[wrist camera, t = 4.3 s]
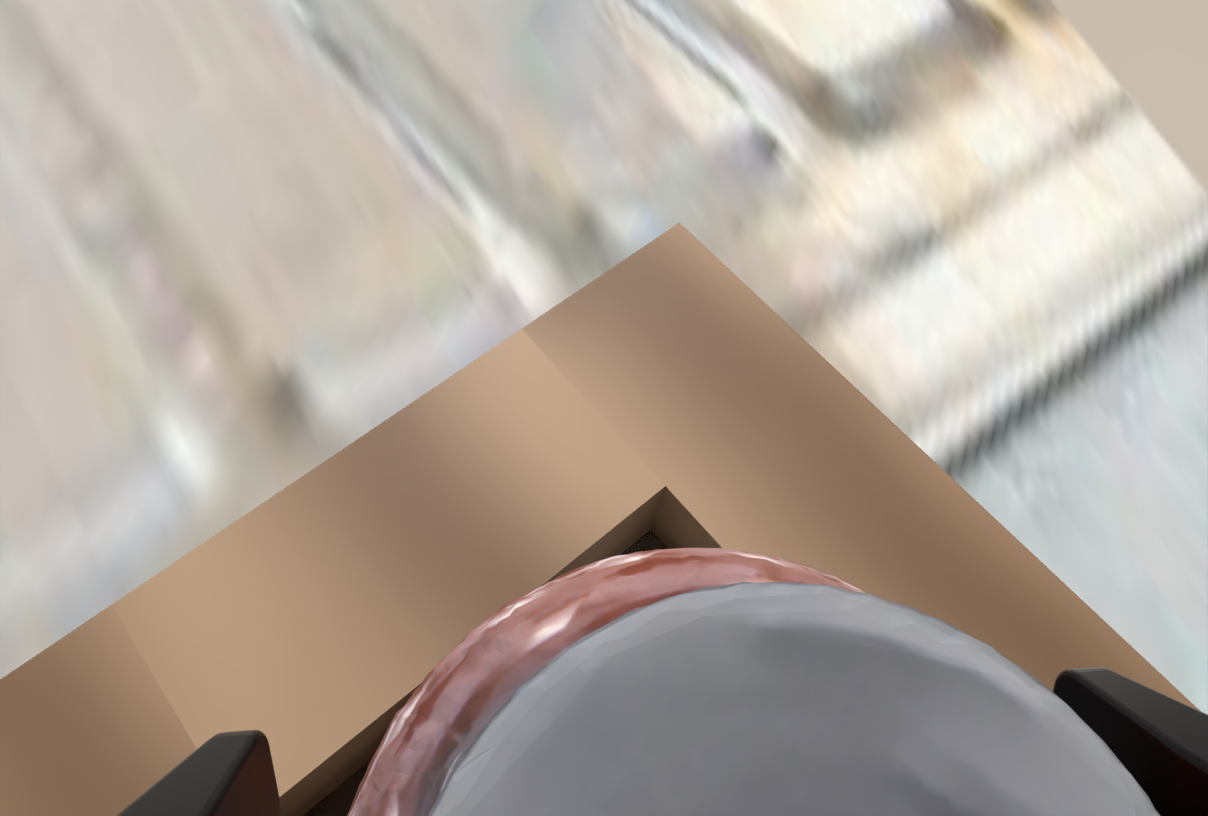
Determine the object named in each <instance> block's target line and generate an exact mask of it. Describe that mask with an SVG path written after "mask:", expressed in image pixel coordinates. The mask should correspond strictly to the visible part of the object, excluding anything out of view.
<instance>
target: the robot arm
mask: <svg viewBox="0 0 1208 816" xmlns="http://www.w3.org/2000/svg"><path fill="white" fill-rule="evenodd" d="M1053 693H1055V694H1056V695H1057V696H1058V697H1059V698H1060V699H1062V700H1063V701H1064V702H1065V703H1066V704H1067V705H1069V706H1070V708H1071V709H1072V710H1073V711H1074V712H1075V713H1076V714H1077V715H1078V716H1079V717H1080V718H1081V719H1082V720H1083V721H1084V722H1085V723H1086V724H1087V725H1088V726H1089V727H1090V728H1091V729H1092V730H1093V731H1094V732H1095V733H1096V734H1097V735H1098V736H1099V737H1100V738H1101V739H1102V740H1103V741H1104V742H1105V743H1106V744H1107V746H1108V747H1109V748H1110V749H1111V751H1112V752H1113V753H1114V754H1115V756H1116V757H1117V758H1118V759H1119V761H1120V762H1121V763H1122V764H1123V765H1124V767H1125V768H1126V769H1127V770H1128V771H1129V772H1130V774H1131V775H1132V776H1133V777H1134V779H1135V780H1136V781H1137V782H1138V784H1139V785H1140V786H1141V788H1142V789H1143V790H1144V791H1145V793H1146V794H1147V795H1148V797H1149V798H1150V800H1151V802H1152V804H1153V806H1154V808H1155V810H1156V811H1157V812H1158V813H1159V814H1160V815H1161V816H1208V715H1207V714H1205V713H1203V712H1201V711H1198V710H1196V709H1194V708H1192V707H1190V706H1187V705H1185V704H1183V703H1181V702H1179V701H1177V700H1174V699H1172V698H1170V697H1168V696H1166V695H1164V694H1161V693H1159V692H1157V691H1155V690H1153V689H1151V688H1148V687H1146V686H1144V685H1142V684H1140V683H1138V682H1135V681H1133V680H1131V679H1129V678H1127V677H1124V676H1122V675H1120V674H1118V673H1116V672H1114V671H1111V670H1109V669H1106V668H1102V667H1089V668H1076V669H1067V670H1064V671H1062V672H1061V673H1060V674H1059V675H1058V676H1057V678H1056V680H1055V683H1054V688H1053ZM116 816H280V799H279V793H278V788H277V783H276V777H275V772H274V767H273V762H272V757H271V751H270V746H269V742H268V739H267V737H266V735H265V734H264V733H263V732H261V731H259V730H245V731H231V732H222V733H218V734H216V735H214V736H213V737H211V738H210V739H209V740H207V741H206V742H205V743H204V744H203V745H201V746H200V747H199V748H198V749H197V750H195V751H194V752H193V753H192V754H190V755H189V756H188V757H187V758H186V759H184V760H183V761H182V762H181V763H180V764H178V765H177V766H176V767H175V768H173V769H172V770H171V771H170V772H169V773H167V774H166V775H165V776H164V777H163V778H161V779H160V780H159V781H158V782H156V783H155V784H154V785H153V786H152V787H150V788H149V789H148V790H147V791H146V792H144V793H143V794H142V795H141V796H139V797H138V798H137V799H136V800H135V801H133V802H132V803H131V804H130V805H129V806H127V807H126V808H125V809H124V810H123V811H121V812H120V813H119V814H118V815H116Z"/></svg>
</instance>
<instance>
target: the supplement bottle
mask: <svg viewBox="0 0 1208 816" xmlns="http://www.w3.org/2000/svg"><path fill="white" fill-rule="evenodd" d="M347 816H1161V815H1160V814H1159V813H1158V812H1157V811H1156V810H1155V808H1154V806H1153V804H1152V802H1151V800H1150V798H1149V797H1148V795H1147V794H1146V793H1145V791H1144V790H1143V789H1142V788H1141V786H1140V785H1139V784H1138V782H1137V781H1136V780H1135V779H1134V777H1133V776H1132V775H1131V774H1130V772H1129V771H1128V770H1127V769H1126V768H1125V767H1124V765H1123V764H1122V763H1121V762H1120V761H1119V759H1118V758H1117V757H1116V756H1115V754H1114V753H1113V752H1112V751H1111V749H1110V748H1109V747H1108V746H1107V744H1106V743H1105V742H1104V741H1103V740H1102V739H1101V738H1100V737H1099V736H1098V735H1097V734H1096V733H1095V732H1094V731H1093V730H1092V729H1091V728H1090V727H1089V726H1088V725H1087V724H1086V723H1085V722H1084V721H1083V720H1082V719H1081V718H1080V717H1079V716H1078V715H1077V714H1076V713H1075V712H1074V711H1073V710H1072V709H1071V708H1070V706H1069V705H1067V704H1066V703H1065V702H1064V701H1063V700H1062V699H1060V698H1059V697H1058V696H1057V695H1056V694H1055V693H1053V692H1052V691H1051V690H1050V689H1049V688H1048V687H1046V686H1045V685H1044V684H1043V683H1042V682H1040V681H1039V680H1038V679H1036V678H1035V677H1033V676H1032V675H1031V674H1029V673H1028V672H1026V671H1025V670H1023V669H1022V668H1021V667H1019V666H1018V665H1016V664H1015V663H1013V662H1012V661H1010V660H1009V659H1007V658H1006V657H1005V656H1003V655H1002V654H1001V653H999V652H998V651H997V650H995V649H994V648H993V647H991V646H990V645H988V644H985V643H983V642H981V641H979V640H977V639H975V638H973V637H971V636H969V635H968V634H966V633H964V632H963V631H961V630H959V629H957V628H956V627H954V626H952V625H950V624H948V623H946V622H944V621H942V620H940V619H938V618H936V617H933V616H930V615H928V614H925V613H923V612H920V611H918V610H917V609H915V608H913V607H910V606H907V605H903V604H899V603H896V602H892V601H888V600H885V599H882V598H880V597H878V596H875V595H873V594H869V593H865V592H863V591H861V590H860V589H858V588H856V587H854V586H852V585H851V584H849V583H846V582H844V581H842V580H840V579H838V578H837V577H835V576H832V575H828V574H825V573H822V572H820V571H817V570H815V569H813V568H811V567H808V566H804V565H800V564H797V563H793V562H790V561H786V560H783V559H780V558H777V557H773V556H766V555H758V554H752V553H749V552H742V551H736V550H732V549H724V548H675V549H656V550H651V551H641V552H634V553H631V554H626V555H619V556H612V557H609V558H606V559H603V560H600V561H597V562H594V563H591V564H588V565H585V566H582V567H580V568H577V569H574V570H572V571H570V572H567V573H565V574H563V575H560V576H558V577H557V578H555V579H554V580H552V581H550V582H547V583H545V584H544V585H543V586H540V587H538V588H535V589H533V590H531V591H529V592H527V593H526V594H524V595H523V596H521V597H519V598H517V599H515V600H513V601H511V602H509V603H507V604H505V605H504V606H503V607H502V608H500V609H499V610H498V611H497V612H496V613H495V614H493V615H491V616H489V617H487V618H486V620H485V621H484V622H483V623H482V624H481V625H479V626H478V627H476V628H475V629H473V630H472V631H470V632H469V633H468V634H467V635H466V636H465V637H464V638H463V639H462V641H461V642H460V643H459V644H458V645H457V646H456V647H455V648H454V649H453V650H452V651H451V652H450V653H449V654H447V655H446V656H445V657H444V658H443V659H442V660H441V662H440V663H439V664H438V665H437V666H436V667H435V668H434V669H433V670H432V671H430V672H429V673H428V674H427V675H426V677H425V678H424V680H423V682H422V683H421V685H420V686H419V687H418V688H417V689H416V690H414V692H413V694H412V696H411V698H409V700H408V701H407V703H406V704H405V705H404V707H402V708H401V709H400V710H399V711H397V712H396V714H395V716H394V718H393V720H392V722H391V724H390V726H389V728H388V730H387V731H386V733H385V735H384V737H383V739H382V741H381V743H380V745H379V747H378V749H377V751H376V753H375V754H374V756H373V758H372V760H371V762H370V763H369V766H368V768H367V771H366V773H365V775H364V777H363V779H362V781H361V783H360V785H359V787H358V790H357V793H356V795H355V798H354V800H353V803H352V806H351V808H350V810H349V813H348V815H347Z"/></svg>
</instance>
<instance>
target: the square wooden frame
mask: <svg viewBox="0 0 1208 816" xmlns="http://www.w3.org/2000/svg"><path fill="white" fill-rule="evenodd" d="M650 530H652V532H653V533H654V534H655V535H656V536H657V537H658V538H659V539H660V541H661V542H662V543H663V544H664V545H665V546H666V547H667V549H675V548H724V549H732V550H736V551H742V552H749V553H752V554H758V555H766V556H773V557H777V558H780V559H783V560H786V561H790V562H793V563H797V564H800V565H804V566H808V567H811V568H813V569H815V570H817V571H820V572H822V573H825V574H828V575H832V576H835V577H837V578H838V579H840V580H842V581H844V582H846V583H849V584H851V585H852V586H854V587H856V588H858V589H860V590H861V591H863V592H865V593H869V594H873V595H875V596H878V597H880V598H882V599H885V600H888V601H892V602H896V603H899V604H903V605H907V606H910V607H913V608H915V609H917V610H918V611H920V612H923V613H925V614H928V615H930V616H933V617H936V618H938V619H940V620H942V621H944V622H946V623H948V624H950V625H952V626H954V627H956V628H957V629H959V630H961V631H963V632H964V633H966V634H968V635H969V636H971V637H973V638H975V639H977V640H979V641H981V642H983V643H985V644H988V645H990V646H991V647H993V648H994V649H995V650H997V651H998V652H999V653H1001V654H1002V655H1003V656H1005V657H1006V658H1007V659H1009V660H1010V661H1012V662H1013V663H1015V664H1016V665H1018V666H1019V667H1021V668H1022V669H1023V670H1025V671H1026V672H1028V673H1029V674H1031V675H1032V676H1033V677H1035V678H1036V679H1038V680H1039V681H1040V682H1042V683H1043V684H1044V685H1045V686H1046V687H1048V688H1049V689H1050V690H1051V691H1052V692H1053V688H1054V683H1055V680H1056V678H1057V676H1058V675H1059V674H1060V673H1061V672H1062V671H1064V670H1067V669H1076V668H1089V667H1102V668H1106V669H1109V670H1111V671H1114V672H1116V673H1118V674H1120V675H1122V676H1124V677H1127V678H1129V679H1131V680H1133V681H1135V682H1138V683H1140V684H1142V685H1144V686H1146V687H1148V688H1151V689H1153V690H1155V691H1157V692H1159V693H1161V694H1164V695H1166V696H1168V697H1170V698H1172V699H1174V700H1177V701H1179V702H1181V703H1183V704H1185V705H1187V706H1190V707H1192V708H1194V709H1196V710H1198V711H1200V710H1199V709H1198V708H1196V707H1195V706H1194V705H1193V704H1192V703H1191V702H1190V701H1189V700H1188V699H1187V698H1186V697H1185V696H1184V695H1183V694H1182V693H1180V692H1179V691H1178V690H1177V689H1176V688H1175V687H1174V686H1173V685H1172V684H1171V683H1170V682H1169V681H1168V680H1167V679H1166V678H1164V677H1163V676H1162V675H1161V674H1160V673H1159V672H1158V671H1157V670H1156V669H1155V668H1154V667H1153V666H1152V665H1151V664H1150V663H1148V662H1147V661H1146V660H1145V659H1144V658H1143V657H1142V656H1141V655H1140V654H1139V653H1138V652H1137V651H1136V650H1135V649H1134V648H1132V647H1131V646H1130V645H1129V644H1128V643H1127V642H1126V641H1125V640H1124V639H1123V638H1122V637H1121V636H1120V635H1119V634H1118V633H1116V632H1115V631H1114V630H1113V629H1112V628H1111V627H1110V626H1109V625H1108V624H1107V623H1106V622H1105V621H1104V620H1103V619H1102V618H1100V617H1099V616H1098V615H1097V614H1096V613H1095V612H1094V611H1093V610H1092V609H1091V608H1090V607H1089V606H1088V605H1087V604H1086V603H1084V602H1083V601H1082V600H1081V599H1080V598H1079V597H1078V596H1077V595H1076V594H1075V593H1074V592H1073V591H1072V590H1071V589H1070V588H1068V587H1067V586H1066V585H1065V584H1064V583H1063V582H1062V581H1061V580H1060V579H1059V578H1058V577H1057V576H1056V575H1055V574H1054V573H1052V572H1051V571H1050V570H1049V569H1048V568H1047V567H1046V566H1045V565H1044V564H1043V563H1042V562H1041V561H1040V560H1039V559H1038V558H1036V557H1035V556H1034V555H1033V554H1032V553H1031V552H1030V551H1029V550H1028V549H1027V548H1026V547H1025V546H1024V545H1023V544H1022V543H1020V542H1019V541H1018V540H1017V539H1016V538H1015V537H1014V536H1013V535H1012V534H1011V533H1010V532H1009V531H1008V530H1007V529H1006V528H1004V527H1003V526H1002V525H1001V524H1000V523H999V522H998V521H997V520H996V519H995V518H994V517H993V516H992V515H991V514H990V513H988V512H987V511H986V510H985V509H984V508H983V507H982V506H981V505H980V504H979V503H978V502H977V501H976V500H975V499H974V498H972V497H971V496H970V495H969V494H968V493H967V492H966V491H965V490H964V489H963V488H962V487H961V486H960V485H959V484H958V483H956V482H955V481H954V480H953V479H952V478H951V477H950V476H949V475H948V474H947V473H946V472H945V471H944V470H943V469H942V468H940V467H939V466H938V465H937V464H936V463H935V462H934V461H933V460H932V459H931V458H930V457H929V456H928V455H927V454H926V453H924V452H923V451H922V450H921V449H920V448H919V447H918V446H917V445H916V444H915V443H914V442H913V441H912V440H911V439H910V438H908V437H907V436H906V435H905V434H904V433H903V432H902V431H901V430H900V429H899V428H898V427H897V426H896V425H895V424H894V423H892V422H891V421H890V420H889V419H888V418H887V417H886V416H885V415H884V414H883V413H882V412H881V411H880V410H879V409H878V408H876V407H875V406H874V405H873V404H872V403H871V402H870V401H869V400H868V399H867V398H866V397H865V396H864V395H863V394H862V393H861V392H859V391H858V390H857V389H856V388H855V387H854V386H853V385H852V384H851V383H850V382H849V381H848V380H847V379H846V378H845V377H843V376H842V375H841V374H840V373H839V372H838V371H837V370H836V369H835V368H834V367H833V366H832V365H831V364H830V363H829V362H827V361H826V360H825V359H824V358H823V357H822V356H821V355H820V354H819V353H818V352H817V351H816V350H815V349H814V348H813V347H811V346H810V345H809V344H808V343H807V342H806V341H805V340H804V339H803V338H802V337H801V336H800V335H799V334H798V333H797V332H795V331H794V330H793V329H792V328H791V327H790V326H789V325H788V324H787V323H786V322H785V321H784V320H783V319H782V318H781V317H779V316H778V315H777V314H776V313H775V312H774V311H773V310H772V309H771V308H770V307H769V306H768V305H767V304H766V303H765V302H763V301H762V300H761V299H760V298H759V297H758V296H757V295H756V294H755V293H754V292H753V291H752V290H751V289H750V288H749V287H747V286H746V285H745V284H744V283H743V282H742V281H741V280H740V279H739V278H738V277H737V276H736V275H735V274H734V273H733V272H731V271H730V270H729V269H728V268H727V267H726V266H725V265H724V264H723V263H722V262H721V261H720V260H719V259H718V258H717V257H715V256H714V255H713V254H712V253H711V252H710V251H709V250H708V249H707V248H706V247H705V246H704V245H703V244H702V243H701V242H699V241H698V240H697V239H696V238H695V237H694V236H693V235H692V234H691V233H690V232H689V231H688V230H687V229H686V228H685V227H683V226H682V225H681V224H680V223H678V224H677V225H675V226H674V227H672V228H671V229H669V230H668V231H666V232H665V233H663V234H662V235H660V236H659V237H658V238H656V239H655V240H653V241H652V242H650V243H649V244H647V245H646V246H644V247H643V248H641V249H640V250H638V251H637V252H635V253H634V254H632V255H631V256H629V257H628V258H626V259H625V260H623V261H622V262H620V263H619V264H617V265H616V266H614V267H613V268H611V269H610V270H608V271H607V272H605V273H604V274H603V275H601V276H600V277H598V278H597V279H595V280H594V281H592V282H591V283H589V284H588V285H586V286H585V287H583V288H582V289H580V290H579V291H577V292H576V293H574V294H573V295H571V296H570V297H568V298H567V299H565V300H564V301H562V302H561V303H559V304H558V305H556V306H555V307H553V308H552V309H551V310H549V311H548V312H546V313H545V314H543V315H542V316H540V317H539V318H537V319H536V320H534V321H533V322H531V323H530V324H528V325H527V326H525V327H524V328H522V329H521V330H519V331H518V332H516V333H515V334H513V335H512V336H510V337H509V338H507V339H506V340H504V341H503V342H501V343H500V344H499V345H497V346H496V347H494V348H493V349H491V350H490V351H488V352H487V353H485V354H484V355H482V356H481V357H479V358H478V359H476V360H475V361H473V362H472V363H470V364H469V365H467V366H466V367H464V368H463V369H461V370H460V371H458V372H457V373H455V374H454V375H452V376H451V377H449V378H448V379H446V380H445V381H444V382H442V383H441V384H439V385H438V386H436V387H435V388H433V389H432V390H430V391H429V392H427V393H426V394H424V395H423V396H421V397H420V398H418V399H417V400H415V401H414V402H412V403H411V404H409V405H408V406H406V407H405V408H403V409H402V410H400V411H399V412H397V413H396V414H394V415H393V416H392V417H390V418H389V419H387V420H386V421H384V422H383V423H381V424H380V425H378V426H377V427H375V428H374V429H372V430H371V431H369V432H368V433H366V434H365V435H363V436H362V437H360V438H359V439H357V440H356V441H354V442H353V443H351V444H350V445H348V446H347V447H345V448H344V449H342V450H341V451H340V452H338V453H337V454H335V455H334V456H332V457H331V458H329V459H328V460H326V461H325V462H323V463H322V464H320V465H319V466H317V467H316V468H314V469H313V470H311V471H310V472H308V473H307V474H305V475H304V476H302V477H301V478H299V479H298V480H296V481H295V482H293V483H292V484H290V485H289V486H287V487H286V488H285V489H283V490H282V491H280V492H279V493H277V494H276V495H274V496H273V497H271V498H270V499H268V500H267V501H265V502H264V503H262V504H261V505H259V506H258V507H256V508H255V509H253V510H252V511H250V512H249V513H247V514H246V515H244V516H243V517H241V518H240V519H238V520H237V521H235V522H234V523H233V524H231V525H230V526H228V527H227V528H225V529H224V530H222V531H221V532H219V533H218V534H216V535H215V536H213V537H212V538H210V539H209V540H207V541H206V542H204V543H203V544H201V545H200V546H198V547H197V548H195V549H194V550H192V551H191V552H189V553H188V554H186V555H185V556H183V557H182V558H181V559H179V560H178V561H176V562H175V563H173V564H172V565H170V566H169V567H167V568H166V569H164V570H163V571H161V572H160V573H158V574H157V575H155V576H154V577H152V578H151V579H149V580H148V581H146V582H145V583H143V584H142V585H140V586H139V587H137V588H136V589H134V590H133V591H131V592H130V593H128V594H127V595H126V596H124V597H123V598H121V599H120V600H118V601H117V602H115V603H114V604H112V605H111V606H109V607H108V608H106V609H105V610H103V611H102V612H100V613H99V614H97V615H96V616H94V617H93V618H91V619H90V620H88V621H87V622H85V623H84V624H82V625H81V626H79V627H78V628H76V629H75V630H74V631H72V632H71V633H69V634H68V635H66V636H65V637H63V638H62V639H60V640H59V641H57V642H56V643H54V644H53V645H51V646H50V647H48V648H47V649H45V650H44V651H42V652H41V653H39V654H38V655H36V656H35V657H33V658H32V659H30V660H29V661H27V662H26V663H24V664H23V665H22V666H20V667H19V668H17V669H16V670H14V671H13V672H11V673H10V674H8V675H7V676H5V677H4V678H2V679H1V680H0V816H116V815H118V814H119V813H120V812H121V811H123V810H124V809H125V808H126V807H127V806H129V805H130V804H131V803H132V802H133V801H135V800H136V799H137V798H138V797H139V796H141V795H142V794H143V793H144V792H146V791H147V790H148V789H149V788H150V787H152V786H153V785H154V784H155V783H156V782H158V781H159V780H160V779H161V778H163V777H164V776H165V775H166V774H167V773H169V772H170V771H171V770H172V769H173V768H175V767H176V766H177V765H178V764H180V763H181V762H182V761H183V760H184V759H186V758H187V757H188V756H189V755H190V754H192V753H193V752H194V751H195V750H197V749H198V748H199V747H200V746H201V745H203V744H204V743H205V742H206V741H207V740H209V739H210V738H211V737H213V736H214V735H216V734H218V733H222V732H231V731H245V730H259V731H261V732H263V733H264V734H265V735H266V737H267V739H268V742H269V746H270V751H271V757H272V762H273V767H274V772H275V777H276V783H277V788H278V793H279V799H280V816H304V815H305V814H306V813H307V812H308V811H310V810H311V809H312V808H313V807H314V806H316V805H317V804H318V803H319V802H321V801H322V800H323V799H324V798H325V797H327V796H328V795H329V794H330V793H331V792H333V791H334V790H335V789H336V788H338V787H339V786H340V785H341V784H342V783H344V782H345V781H346V780H347V779H348V778H350V777H351V776H352V775H353V774H355V773H356V772H357V771H358V770H359V769H361V768H362V767H363V766H364V765H365V764H367V763H368V762H369V761H370V760H372V758H373V756H374V754H375V753H376V751H377V749H378V747H379V745H380V743H381V741H382V739H383V737H384V735H385V733H386V731H387V730H388V728H389V726H390V724H391V722H392V720H393V718H394V716H395V714H396V712H397V711H399V710H400V709H401V708H402V707H404V705H405V704H406V703H407V701H408V700H409V698H411V696H412V694H413V692H414V690H416V689H417V688H418V687H419V686H420V685H421V683H422V682H423V680H424V678H425V677H426V675H427V674H428V673H429V672H430V671H432V670H433V669H434V668H435V667H436V666H437V665H438V664H439V663H440V662H441V660H442V659H443V658H444V657H445V656H446V655H447V654H449V653H450V652H451V651H452V650H453V649H454V648H455V647H456V646H457V645H458V644H459V643H460V642H461V641H462V639H463V638H464V637H465V636H466V635H467V634H468V633H469V632H470V631H472V630H473V629H475V628H476V627H478V626H479V625H481V624H482V623H483V622H484V621H485V620H486V618H487V617H489V616H491V615H493V614H495V613H496V612H497V611H498V610H499V609H500V608H502V607H503V606H504V605H505V604H507V603H509V602H511V601H513V600H515V599H517V598H519V597H521V596H523V595H524V594H526V593H527V592H529V591H531V590H533V589H535V588H538V587H540V586H543V585H544V584H545V583H547V582H550V581H552V580H554V579H555V578H557V577H558V576H560V575H563V574H565V573H567V572H570V571H572V570H574V569H577V568H580V567H582V566H585V565H588V564H591V563H594V562H597V561H600V560H603V559H606V558H609V557H612V556H619V555H621V554H622V553H623V552H624V551H625V550H627V549H628V548H629V547H630V546H631V545H633V544H634V543H635V542H636V541H638V540H639V539H640V538H641V537H642V536H644V535H645V534H646V533H647V532H648V531H650Z"/></svg>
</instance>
